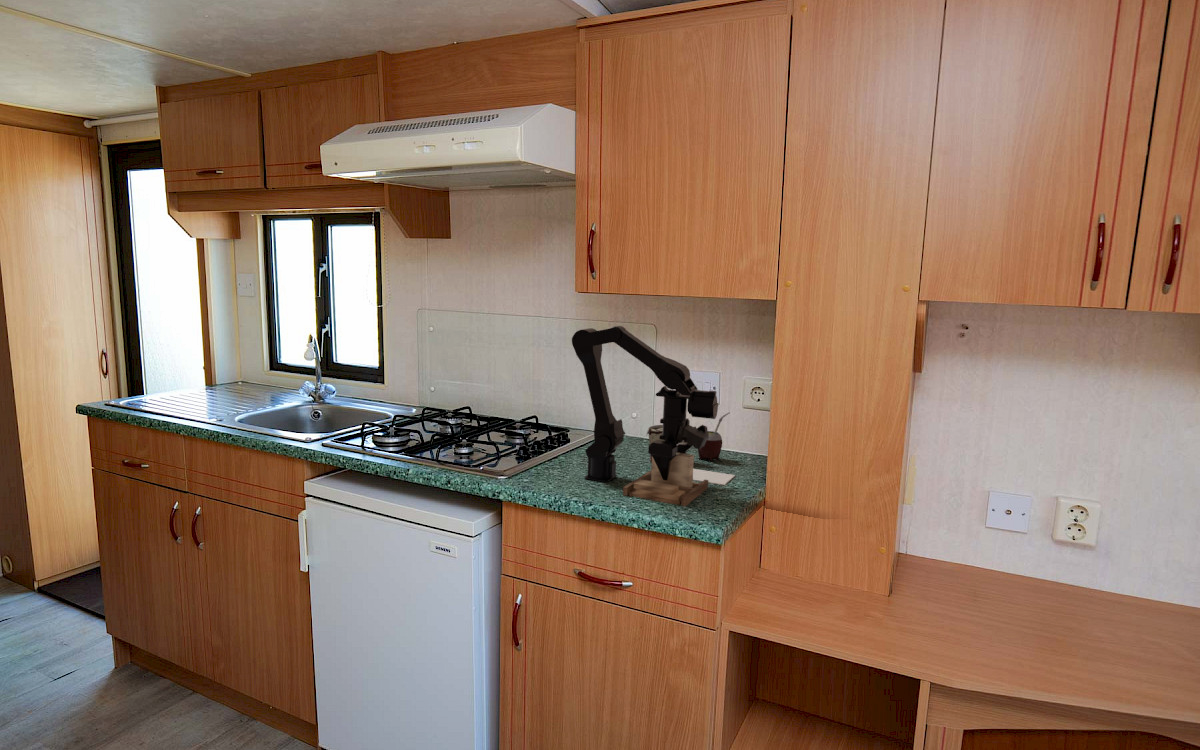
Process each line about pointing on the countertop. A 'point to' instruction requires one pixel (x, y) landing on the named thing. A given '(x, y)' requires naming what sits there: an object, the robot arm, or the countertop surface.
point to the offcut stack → (657, 491)
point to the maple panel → (676, 471)
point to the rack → (690, 492)
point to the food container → (654, 435)
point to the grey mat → (711, 477)
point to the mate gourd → (712, 445)
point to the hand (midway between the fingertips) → (671, 475)
